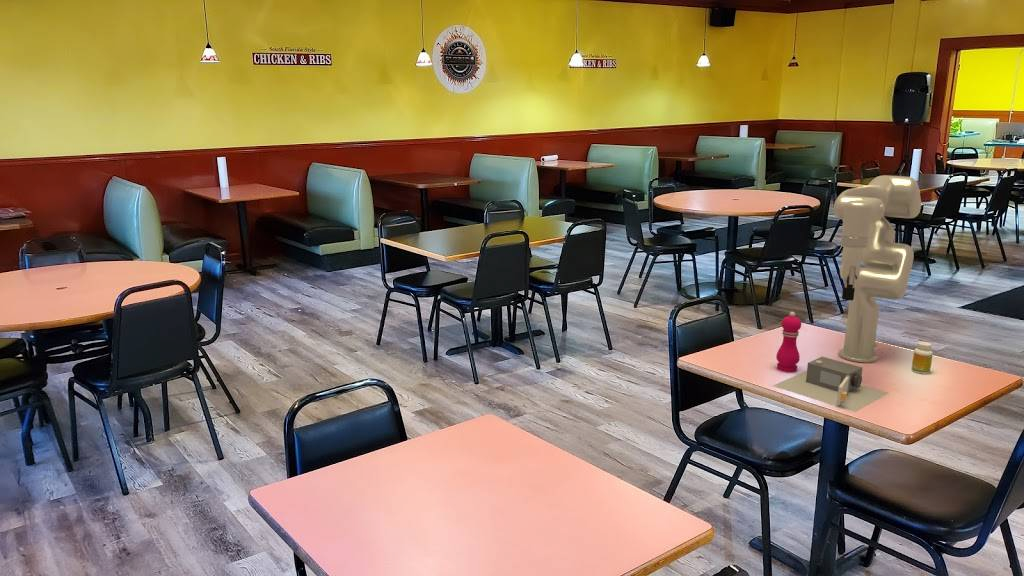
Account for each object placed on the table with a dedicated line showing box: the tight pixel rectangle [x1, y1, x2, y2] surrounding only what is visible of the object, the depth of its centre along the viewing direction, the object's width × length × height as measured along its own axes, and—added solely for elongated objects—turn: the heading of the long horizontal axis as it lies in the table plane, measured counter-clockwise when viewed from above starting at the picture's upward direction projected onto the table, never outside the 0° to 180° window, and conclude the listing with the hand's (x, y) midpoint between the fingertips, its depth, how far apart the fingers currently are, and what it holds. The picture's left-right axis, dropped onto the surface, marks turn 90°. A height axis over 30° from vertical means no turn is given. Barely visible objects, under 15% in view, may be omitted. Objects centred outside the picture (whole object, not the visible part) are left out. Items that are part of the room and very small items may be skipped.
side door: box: [837, 375, 850, 405], centre depth 224 cm, size 2×11×6 cm, turn 146°
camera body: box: [806, 356, 863, 393], centre depth 236 cm, size 9×14×7 cm, turn 41°
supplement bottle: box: [911, 341, 934, 375], centre depth 249 cm, size 5×5×10 cm
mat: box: [772, 370, 889, 413], centre depth 234 cm, size 22×26×1 cm
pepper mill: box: [775, 311, 802, 373], centre depth 248 cm, size 7×7×20 cm
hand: (847, 299), depth 236 cm, fingers closed
